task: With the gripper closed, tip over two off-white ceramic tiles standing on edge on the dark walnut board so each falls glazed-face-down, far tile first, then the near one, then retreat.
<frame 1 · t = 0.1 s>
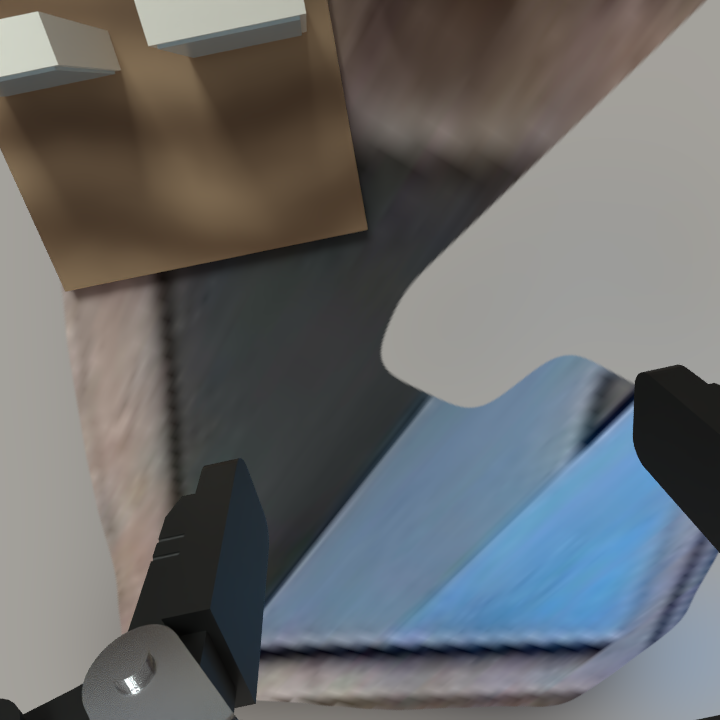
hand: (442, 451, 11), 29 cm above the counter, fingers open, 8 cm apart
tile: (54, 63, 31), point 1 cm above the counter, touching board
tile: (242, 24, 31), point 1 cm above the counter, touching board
board: (175, 117, 34), on the counter
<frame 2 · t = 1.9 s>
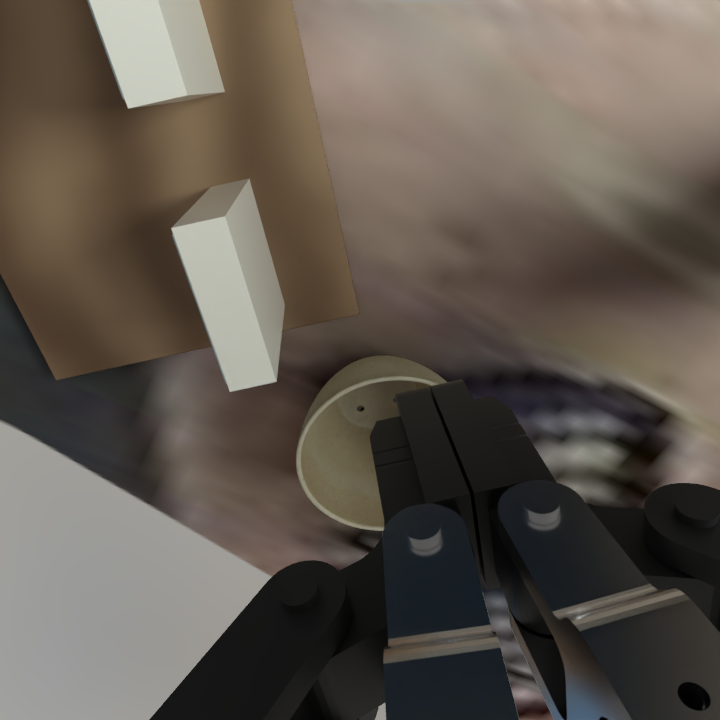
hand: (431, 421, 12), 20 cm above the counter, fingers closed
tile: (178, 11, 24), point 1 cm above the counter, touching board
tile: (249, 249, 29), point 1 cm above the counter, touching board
board: (143, 156, 28), on the counter
flower pot 2: (376, 391, 35), on the counter
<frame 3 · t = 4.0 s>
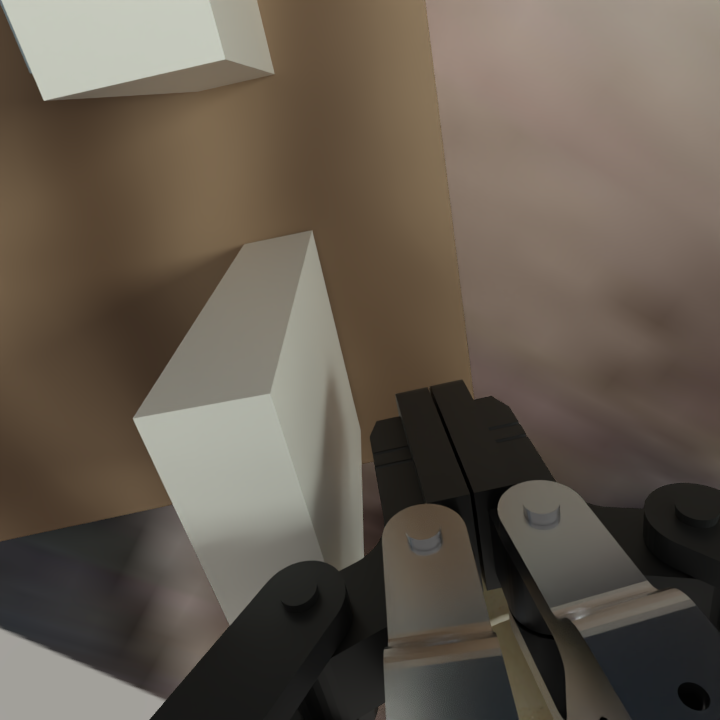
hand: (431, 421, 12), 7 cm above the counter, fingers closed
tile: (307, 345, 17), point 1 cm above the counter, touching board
board: (125, 190, 16), on the counter
flower pot 2: (485, 536, 23), on the counter
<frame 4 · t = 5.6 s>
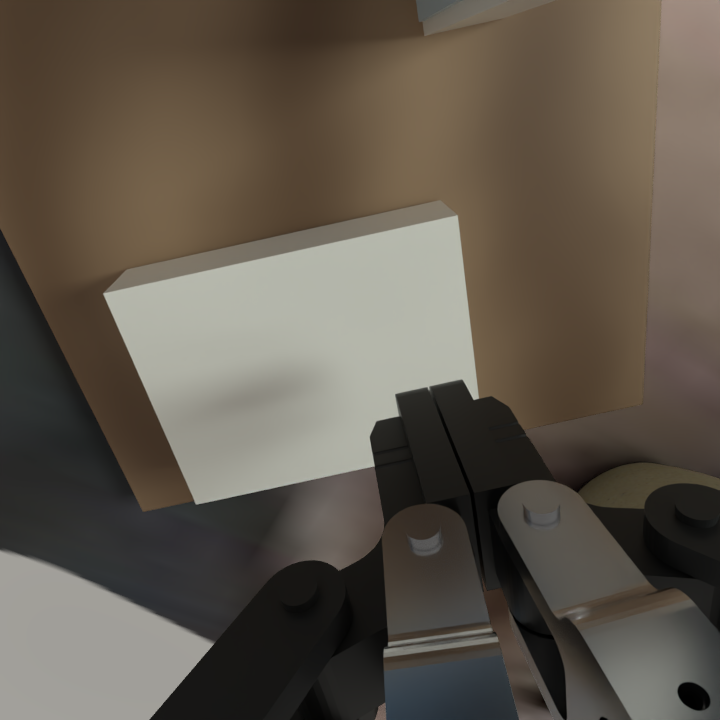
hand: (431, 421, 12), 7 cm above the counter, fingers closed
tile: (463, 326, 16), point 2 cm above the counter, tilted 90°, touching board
board: (323, 143, 15), on the counter
flower pot 2: (621, 507, 23), on the counter
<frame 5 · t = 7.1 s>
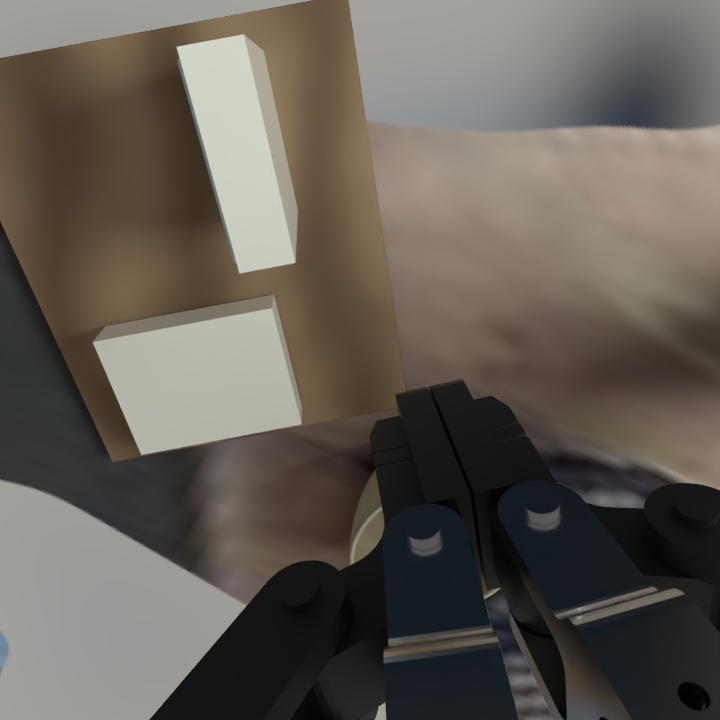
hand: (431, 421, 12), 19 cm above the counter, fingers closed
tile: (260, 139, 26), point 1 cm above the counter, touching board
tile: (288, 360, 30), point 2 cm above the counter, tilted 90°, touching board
board: (213, 261, 29), on the counter
flower pot 2: (415, 471, 37), on the counter
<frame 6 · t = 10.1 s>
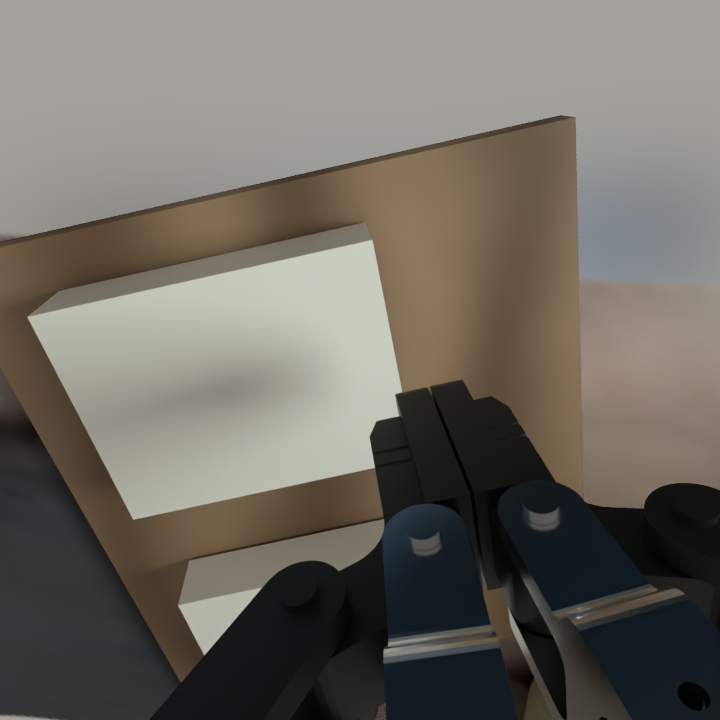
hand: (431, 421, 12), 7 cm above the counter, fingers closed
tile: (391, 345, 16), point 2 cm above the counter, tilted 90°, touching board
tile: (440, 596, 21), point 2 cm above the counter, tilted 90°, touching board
board: (335, 466, 21), on the counter
flower pot 2: (576, 677, 28), on the counter
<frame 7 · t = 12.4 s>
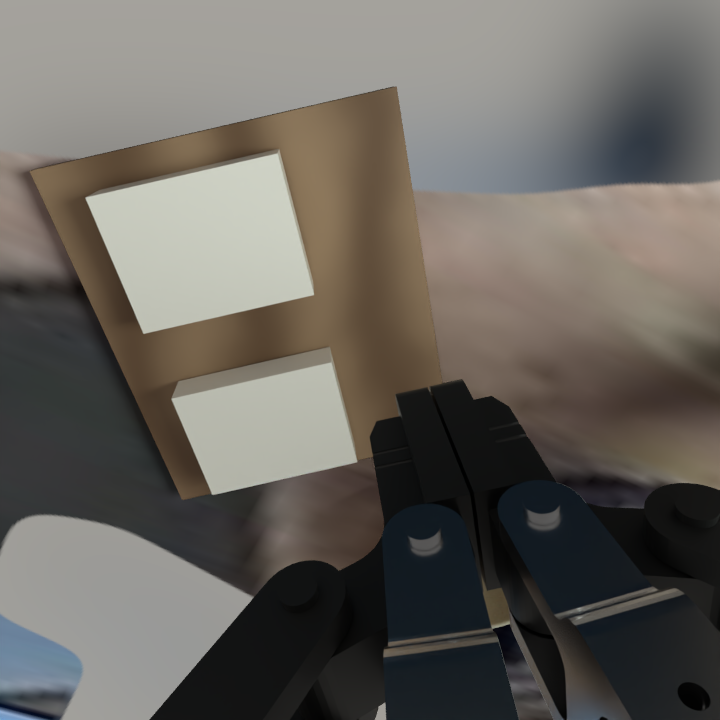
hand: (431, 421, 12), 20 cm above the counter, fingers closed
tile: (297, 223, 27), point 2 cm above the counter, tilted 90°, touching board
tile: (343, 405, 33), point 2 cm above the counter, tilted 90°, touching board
board: (273, 319, 32), on the counter
flower pot 2: (457, 495, 40), on the counter
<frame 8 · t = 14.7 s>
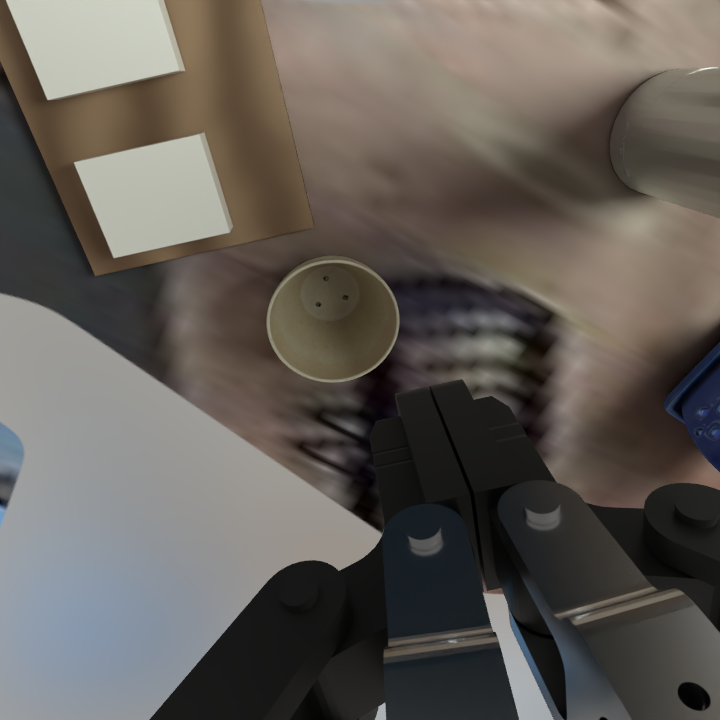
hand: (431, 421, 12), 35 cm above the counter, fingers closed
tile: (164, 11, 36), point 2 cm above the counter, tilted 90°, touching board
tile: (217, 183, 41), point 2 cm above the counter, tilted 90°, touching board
board: (160, 110, 40), on the counter
flower pot 2: (330, 292, 48), on the counter
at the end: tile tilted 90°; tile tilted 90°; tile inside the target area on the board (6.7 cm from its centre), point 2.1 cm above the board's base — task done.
